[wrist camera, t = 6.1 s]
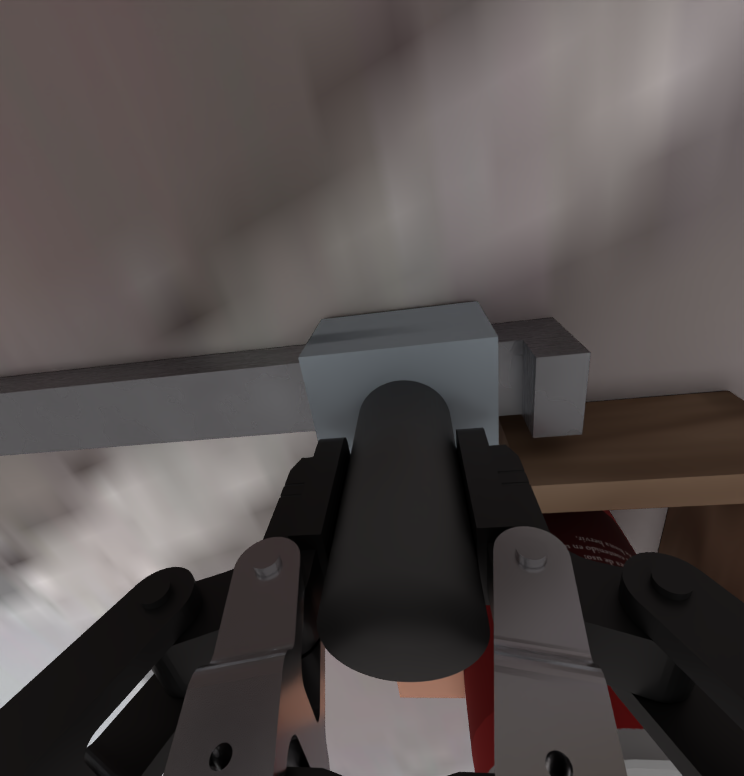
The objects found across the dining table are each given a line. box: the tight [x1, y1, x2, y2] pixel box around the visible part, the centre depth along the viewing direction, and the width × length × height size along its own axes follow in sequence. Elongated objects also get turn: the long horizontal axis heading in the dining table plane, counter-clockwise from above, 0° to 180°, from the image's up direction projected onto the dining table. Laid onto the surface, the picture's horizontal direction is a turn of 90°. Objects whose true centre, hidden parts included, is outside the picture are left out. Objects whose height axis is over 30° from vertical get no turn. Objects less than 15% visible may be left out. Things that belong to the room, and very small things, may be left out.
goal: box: [499, 391, 744, 603], centre depth 18 cm, size 15×9×5 cm, turn 8°
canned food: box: [463, 510, 682, 776], centre depth 16 cm, size 8×8×11 cm
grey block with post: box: [298, 301, 499, 698], centre depth 14 cm, size 13×6×11 cm, turn 8°
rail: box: [0, 318, 591, 456], centre depth 17 cm, size 3×30×4 cm, turn 98°
